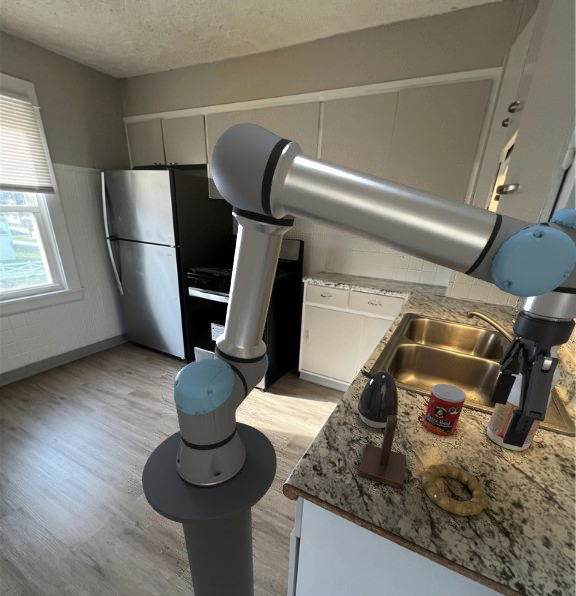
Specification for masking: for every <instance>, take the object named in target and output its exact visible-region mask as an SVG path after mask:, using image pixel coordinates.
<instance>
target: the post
mask: <svg viewBox="0 0 576 596" xmlns="http://www.w3.org/2000/svg"><path fill="white" fill-rule="evenodd" d="M398 421H399V418H398V416H397V417H395V416H392V415H390V416H388V418H387V423H386V427H384V428H385V430H384V433H383V437H382V438H383V439H382V443H381V447H379V446H375V445H373V444H368V443H366V444H365V446H364V451H363V455H362V458H361V462H360V466H359V469H358V476H359V477H362V478H365V479H368V480H371V481H373V482H374V481H375V482H377V483H378V482H379V483H381V484H384V485H387V486H390V487H393V488H397V489H400V490H403V486H404V482H405V471H406V461H407V455H406V454H404V453H400V452H398V451H397V452H396V451H393V450H392V448H393V443H394V440H395V439H394V438H395V434H396V431H397V426H398Z"/></svg>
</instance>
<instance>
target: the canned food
mask: <svg viewBox="0 0 576 596" xmlns="http://www.w3.org/2000/svg"><path fill="white" fill-rule="evenodd" d="M466 396H467V394H466V392H465V391H464V390H463V389H461V388H460V387H458V386H456V385H452V384H449V383H448V384H447V383H437V384H434V385H433V387H432V389H431V391H430V395H429V399H428V402H427V407H426V411H425V415H424V419H423V424H424V427H425V428H426V429H427V430H428V431H430V432H431V433H434V434H435V435H439V436H450V435H452V434H453V433H454V432H455V431H456V428H457V426H458V422H459V418H460V416H461V413H462V411H463V407H464V404H465V401H466Z"/></svg>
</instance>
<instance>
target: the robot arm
mask: <svg viewBox="0 0 576 596" xmlns="http://www.w3.org/2000/svg"><path fill="white" fill-rule="evenodd" d="M210 160H211V161H210V171H211V176H212V179H213V182H214V185H215V187H216V189H217V190H218V192H219V194H220V195H221V196H222V197H223V199H224V200H225V201H226V202H227V203H229V204H230V205H231V206H232V216H233V217H234V218H235V220H236V221H237V224H238V231H237V237H236V244H235V252H234V260H233V267H232V275H231V280H230V281H231V282H230V289H229V297H228V302H227V303H228V305H227V310H226V317H225V318H226V319H225V325H224V326H225V327H224V332H223V333H222V334H220V335H219V336H217V338H216V341H215V347H214V356H213V358H212V357H211V358H203V359H199V361H193V362H190V363H189V364H186V365H185V366H184V367H182V368H181V369H180V370H179V371H178V373H177V374H176V376H175V378H174V381H173V399H174V400H173V401H174V404H175V409H176V414H177V420H178V427H179V431H180V433H181V442H180V446H179V450H178V454H177V458H176V467H177V473H178V475H179V477H180V478H181V480H182V481H184V482H185V483H186V484H188V485H190V486H193V487H197V488H213V487H218V486H221V485H224V484H226V483H228V482H230V481H231V480H233V479H234V478H236V477H237V476H238V475H239V474H240V472H241V471H242V470H243V468H244V466H245V462H246V451H245V447H244V444H243V442H242V441H241V440H240V437H239V435H238V432H237V430H236V422H237V414H236V413H237V410H238V408H239V407H240V406H241V405H242V403H243V402H244V401H245V400H246V398H247V397H249V395H250V394H251V393H252V391H253V390H254V389H255V388H256V387H257V386H258V385H259V384H260V383H261V382H262V380H263V379H264V378H265V376H266V373H267V371H268V367H269V357H268V354H267V353H266V352H267V344H266V342H264V340H263V337H264V335H263V334H264V330H265V326H266V321H267V315H268V311H269V306H270V301H271V296H272V291H273V286H274V282H275V276H276V271H277V268H278V267H277V266H278V261H279V257H280V253H281V247H282V244H283V243H282V242H283V237H284V235H285V234H286V233H287V232H288V231H290V230H291V229H293V228H294V223H295V219H296V218H298V219H301V220H304V221H307V222H310V223H313V224H316V225H318V226H321V227H325V228H328V229H329V230H330V229H331V230H333V231H337V232H340V233H342V234H345V235H348V236H351V237H354V238H358V239H360V240H363V241H367V242H369V243H372V244H375V245H377V246H381V247H384V248H387V249H390V250H393V251H395V252H398V253H401V254H405V255H407V256H410V257H413V258H417V259H420V260H423V261H426V262H429V263H431V264H433V265H437V266H440V267H444V268H446V269H449V270H451V271H455V272H458V273H461V274H464V275H466V276H469V277H471V278H474V279H477V280H479V281H480V280H481V281H483V282H486V283H489V284H492V285H494V286H496V287H497V288H498V290H500V291H502V292H503V293H507V294H510V295H512V296H514V297H519V298H522V300H521V303H520V308H521V310H520V311H518V312H517V315H516V318H515V321H514V323H513V325H512V326H513V327H512V332H513V334H514V337H513V338H512V340H511V342H510V344H509V345H508V347H507V348H506V350H505V352H504V354H503V355H502V357H501V358H500V359H499V362H498V364H499V366H500V368H499V373H498V377H497V380H496V382H495V385H494V387H493V389H492V393H491V396H490V399H489V402H490V403H493V404H496V403H498V404H503V405H506V403H507V400H508V397H509V395H510V392H511V390H512V387H513V385H514V382H515V380H516V376H513V375H512V374H515V375H519V372H520V374H522V383H521V392H520V401H519V410H517V409H516V410H513V413H514V414H513V417H512V419H511V422H510V424H509V426H508V429H507V431H506V434H505V436H504V439H503V443H505V444H509V445H513V446H517V447H521V448H522V447H523V444H524V442H525V440H526V438H527V436H528V433H529V431H530V429H531V427H532V425H533V422H534V420H537V421H541V423H543V422H544V421H545V419H546V414H547V410H548V408H547V405H548V400H549V395H550V390H551V385H552V380H553V376H554V372H555V370H556V367H557V364H559V358H558V357H557V358H553V357H551V353H550V351H551V347H552V346H555V345H561V346H562V345H564V344H567V343H568V342H569V340H570V338H571V336H572V335H573V332H574V330H575V327H576V321H575V319H576V208H559V209H557V210H556V211H554V213H553V215H552V218H550V219H549V221H544V222H529V221H525V220H522V219H518V218H516V217H511V216H508V215H504V214H500V213H497V212H496V211H493V210H489V209H486V208H482V207H479V206H476V205H473V204H469V203H466V202H463V201H459V200H456V199H453V198H449V197H447V196H443V195H440V194H437V193H433V192H430V191H427V190H424V189H420V188H417V187H414V186H411V185H407V184H404V183H400V182H397V181H393V180H391V179H388V178H384V177H382V176H381V177H380V176H377V175H374V174H371V173H368V172H364V171H361V170H359V169H354V168H351V167H348V166H345V165H341V164H338V163H335V162H331V161H328V160H326V159H322V158H318V157H316V156H315V157H314V156H311V155H308V154H305V153H304V152H303V150H302V148H301V146H300V144H299V143H298V142H296V141H294V140H290V139H288V138H284V137H282V136H281V135H278V134H277V133H275V132H273V131H271V130H269V129H268V128H265V127H264V126H262V125H260V124H257V123H251V122H241V123H238V124H235V125H233V126H231V127H229V128H227V129H226V130H225V131H224V132H222V134H220V136H219V137H218V139H217V140H216V142H215V145H214V146H213V150H212V152H211V159H210ZM546 409H547V410H546Z"/></svg>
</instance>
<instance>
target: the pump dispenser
mask: <svg viewBox="0 0 576 596" xmlns="http://www.w3.org/2000/svg"><path fill="white" fill-rule="evenodd" d="M361 375H363V376H364V377H366V378H367V379H368V381H367V382H366V383H365V385H364V387H363V389H362V391H361V393H360V396H359V400H358V403H357V411H358V413H359V417H360V419H361V421H362V422H363V423H364V424H365V425H367V426H369V427H371V428H374V429H383V428H386V423H387V418H388V416H390V415H392V416H395V417H397V418H398V413H399V392H398V387H397V384H396V380H395V378H394V377H393V374H391V373H390V372H388V371H385V370H378V371H376V372H375V373H374V374H372V373H370V372H368V371H367V370H365V369H364V370H362V372H361Z"/></svg>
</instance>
